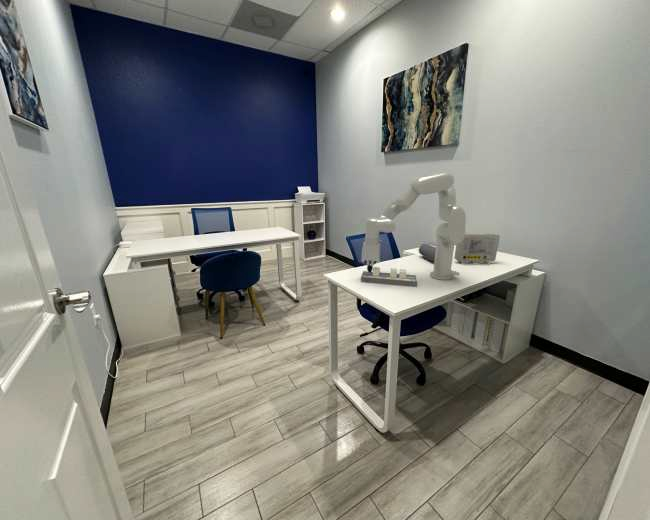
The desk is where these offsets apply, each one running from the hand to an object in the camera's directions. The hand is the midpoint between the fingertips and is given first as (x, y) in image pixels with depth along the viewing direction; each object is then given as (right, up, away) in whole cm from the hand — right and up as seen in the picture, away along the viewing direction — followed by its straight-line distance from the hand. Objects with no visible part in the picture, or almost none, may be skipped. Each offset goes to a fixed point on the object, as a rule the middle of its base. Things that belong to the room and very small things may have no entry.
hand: (369, 271), depth 160 cm
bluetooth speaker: (+49, +6, +34) cm, 60 cm away
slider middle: (+13, -2, -3) cm, 13 cm away
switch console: (+10, -5, -2) cm, 12 cm away
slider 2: (+18, -3, -4) cm, 18 cm away
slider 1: (+4, -2, 0) cm, 4 cm away
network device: (+75, +4, +29) cm, 81 cm away
